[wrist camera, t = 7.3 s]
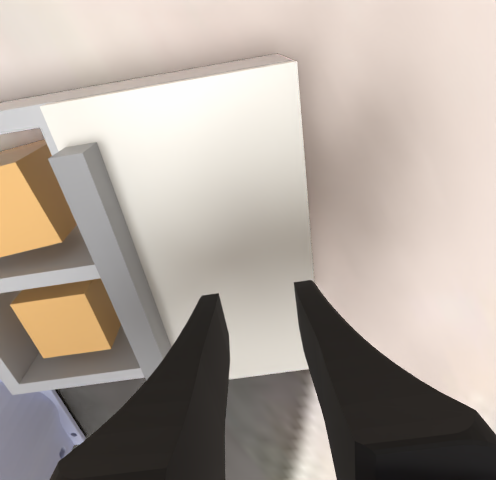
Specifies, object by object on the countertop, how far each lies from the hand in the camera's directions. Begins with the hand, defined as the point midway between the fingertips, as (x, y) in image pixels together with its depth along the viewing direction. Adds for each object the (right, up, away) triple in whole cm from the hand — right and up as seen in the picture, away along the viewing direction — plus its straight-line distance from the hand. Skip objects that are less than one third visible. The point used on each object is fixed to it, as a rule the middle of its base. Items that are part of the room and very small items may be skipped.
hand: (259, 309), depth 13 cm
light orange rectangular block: (-12, +6, +8) cm, 15 cm away
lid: (-2, +2, +4) cm, 4 cm away
